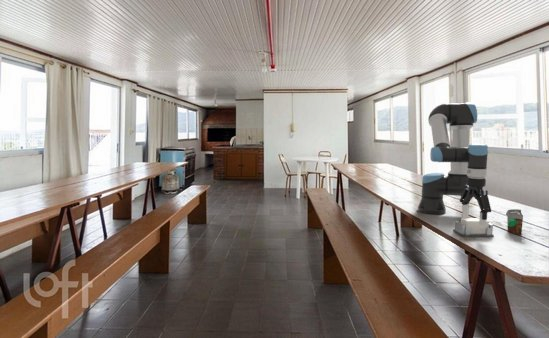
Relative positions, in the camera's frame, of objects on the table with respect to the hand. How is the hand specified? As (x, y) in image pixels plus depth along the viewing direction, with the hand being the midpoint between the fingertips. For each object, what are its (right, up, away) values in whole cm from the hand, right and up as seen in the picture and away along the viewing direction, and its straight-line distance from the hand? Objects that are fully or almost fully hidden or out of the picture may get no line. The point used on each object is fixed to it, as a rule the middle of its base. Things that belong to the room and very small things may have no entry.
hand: (473, 221), depth 148 cm
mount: (0, -6, 0) cm, 6 cm away
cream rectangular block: (0, -5, 0) cm, 5 cm away
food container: (+21, -5, +3) cm, 22 cm away
